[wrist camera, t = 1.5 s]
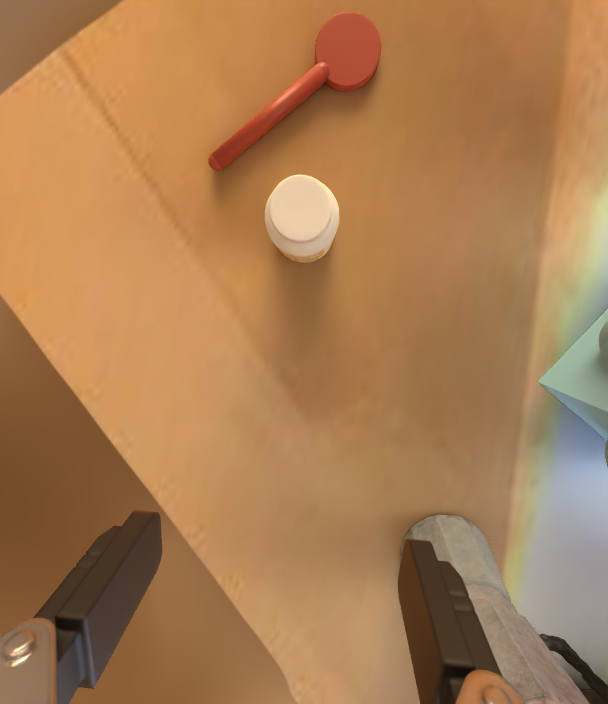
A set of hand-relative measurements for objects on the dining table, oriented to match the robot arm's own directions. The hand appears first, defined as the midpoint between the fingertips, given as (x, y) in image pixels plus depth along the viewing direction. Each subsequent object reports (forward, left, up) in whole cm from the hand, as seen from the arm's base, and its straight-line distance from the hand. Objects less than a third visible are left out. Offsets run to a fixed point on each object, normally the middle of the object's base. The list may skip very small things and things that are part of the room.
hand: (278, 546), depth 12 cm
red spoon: (-13, -19, -23) cm, 33 cm away
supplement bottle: (-8, -10, -23) cm, 27 cm away
